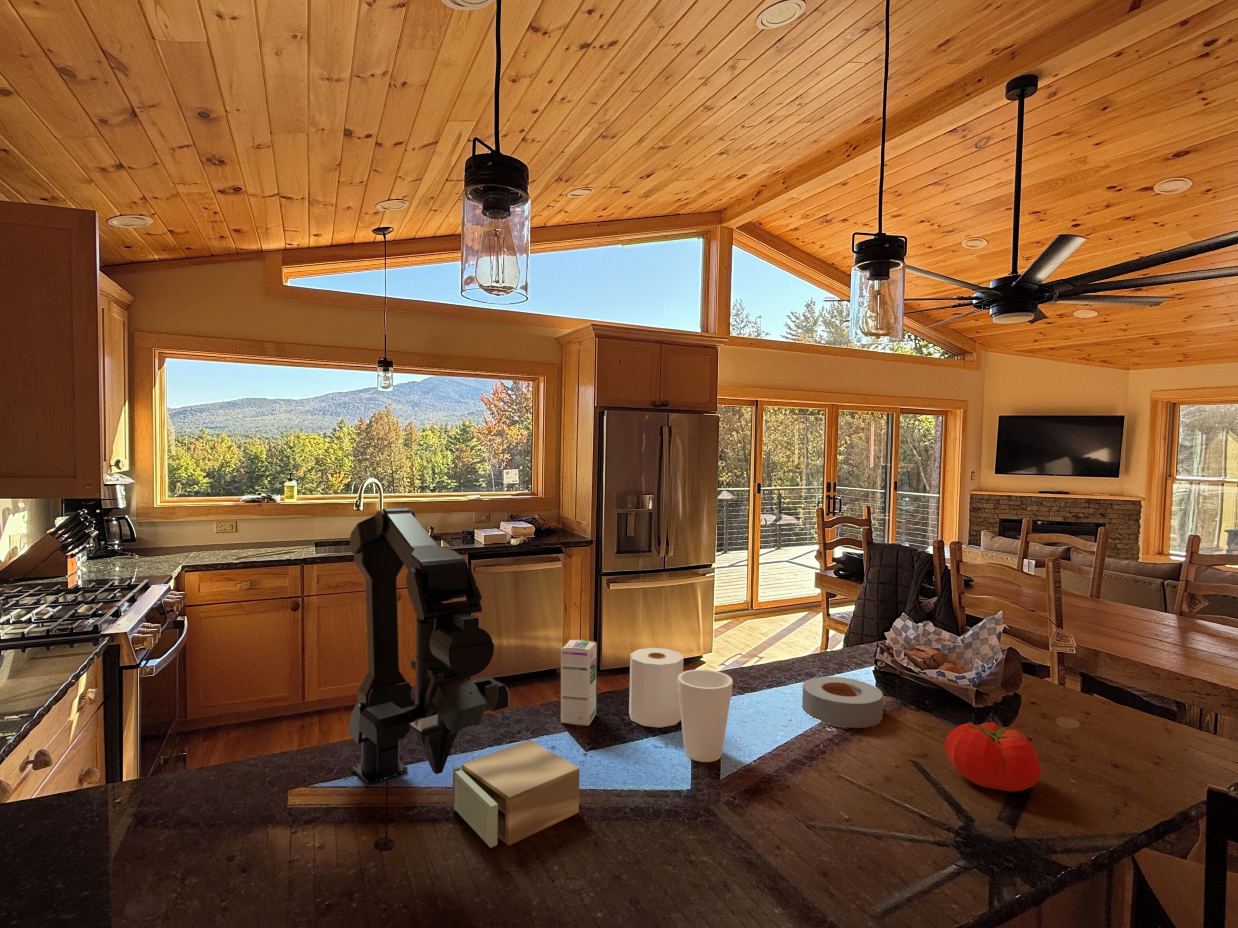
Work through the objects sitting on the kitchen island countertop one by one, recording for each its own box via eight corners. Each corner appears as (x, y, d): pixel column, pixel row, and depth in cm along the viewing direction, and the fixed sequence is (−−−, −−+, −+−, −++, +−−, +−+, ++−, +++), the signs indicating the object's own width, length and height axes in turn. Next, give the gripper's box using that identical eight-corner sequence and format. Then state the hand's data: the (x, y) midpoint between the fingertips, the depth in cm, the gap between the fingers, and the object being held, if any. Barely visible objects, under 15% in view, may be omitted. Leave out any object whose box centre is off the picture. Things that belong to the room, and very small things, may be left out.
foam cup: (668, 759, 113) (670, 683, 113) (684, 737, 122) (686, 666, 122) (723, 770, 110) (726, 692, 109) (736, 747, 118) (738, 674, 118)
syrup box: (589, 726, 126) (591, 649, 125) (559, 723, 127) (560, 647, 126) (596, 714, 131) (598, 640, 131) (567, 711, 133) (568, 638, 132)
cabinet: (461, 808, 97) (461, 763, 97) (529, 780, 105) (529, 739, 105) (508, 845, 88) (509, 796, 88) (578, 812, 97) (579, 767, 96)
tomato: (1051, 782, 108) (1053, 728, 108) (1033, 813, 99) (1035, 754, 99) (958, 754, 118) (960, 704, 118) (934, 779, 109) (936, 725, 108)
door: (451, 806, 97) (451, 767, 96) (458, 804, 97) (458, 765, 97) (489, 848, 87) (490, 805, 87) (497, 845, 87) (497, 803, 87)
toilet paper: (618, 718, 130) (620, 656, 129) (647, 702, 138) (649, 644, 138) (663, 732, 124) (665, 667, 123) (691, 714, 132) (692, 653, 132)
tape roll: (790, 699, 142) (791, 675, 142) (860, 698, 143) (860, 674, 143) (820, 730, 127) (821, 704, 126) (897, 729, 128) (898, 702, 128)
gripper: (398, 687, 75) (397, 825, 75) (534, 654, 88) (532, 772, 88) (357, 662, 83) (356, 787, 83) (487, 635, 96) (486, 743, 96)
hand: (437, 772), depth 88 cm, fingers closed
